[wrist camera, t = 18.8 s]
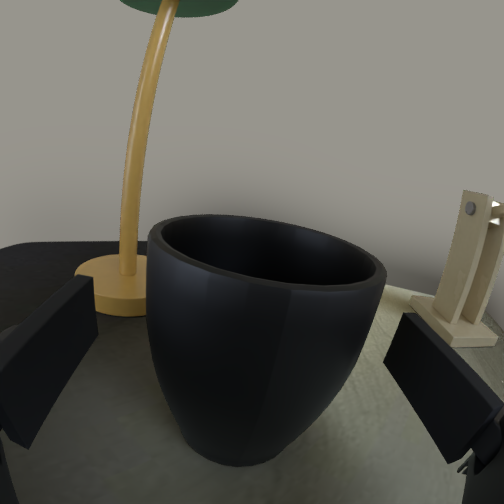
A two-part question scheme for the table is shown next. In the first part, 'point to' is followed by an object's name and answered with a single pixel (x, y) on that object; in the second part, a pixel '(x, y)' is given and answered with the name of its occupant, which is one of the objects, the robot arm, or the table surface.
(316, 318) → the mug
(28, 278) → the table surface
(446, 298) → the beige wooden upright stand
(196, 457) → the table surface
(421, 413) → the robot arm
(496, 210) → the switch
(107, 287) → the lamp
